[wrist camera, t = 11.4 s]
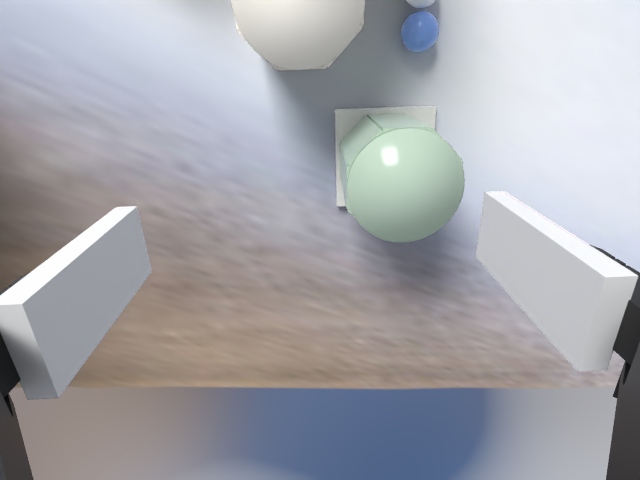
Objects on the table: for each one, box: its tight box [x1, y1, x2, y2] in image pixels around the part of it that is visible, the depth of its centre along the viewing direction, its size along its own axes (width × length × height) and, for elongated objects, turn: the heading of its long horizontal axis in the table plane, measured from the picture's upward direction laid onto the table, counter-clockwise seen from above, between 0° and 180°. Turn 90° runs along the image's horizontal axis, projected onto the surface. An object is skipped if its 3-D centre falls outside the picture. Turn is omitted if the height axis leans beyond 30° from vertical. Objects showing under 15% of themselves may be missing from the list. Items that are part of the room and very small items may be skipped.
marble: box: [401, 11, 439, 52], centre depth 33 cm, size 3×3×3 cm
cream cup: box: [231, 0, 365, 71], centre depth 29 cm, size 8×8×10 cm
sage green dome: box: [340, 113, 465, 243], centre depth 33 cm, size 8×8×10 cm
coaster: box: [335, 106, 437, 206], centre depth 38 cm, size 9×9×1 cm
